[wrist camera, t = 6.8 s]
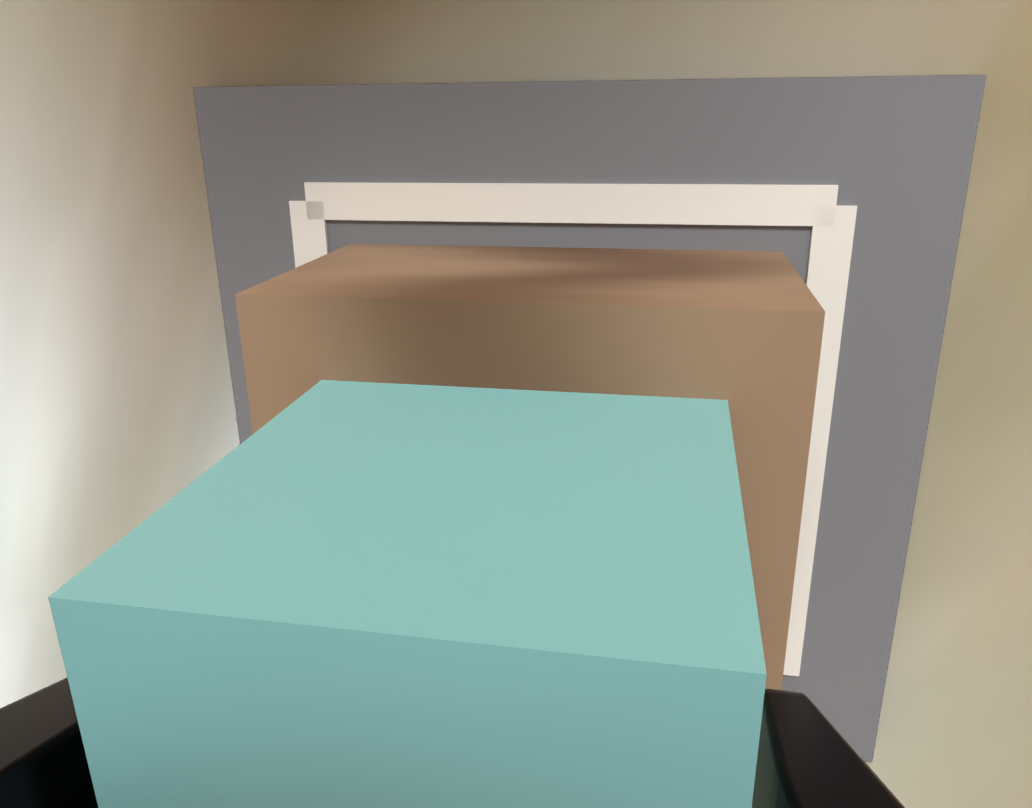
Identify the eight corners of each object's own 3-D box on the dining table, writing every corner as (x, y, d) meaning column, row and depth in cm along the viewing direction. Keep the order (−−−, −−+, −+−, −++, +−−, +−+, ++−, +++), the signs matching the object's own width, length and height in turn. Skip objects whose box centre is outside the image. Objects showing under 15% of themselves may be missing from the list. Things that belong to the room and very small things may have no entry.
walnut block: (781, 251, 13) (825, 311, 9) (745, 636, 15) (767, 807, 12) (350, 243, 14) (234, 294, 10) (378, 602, 16) (292, 747, 13)
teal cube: (728, 399, 10) (767, 675, 5) (699, 742, 12) (709, 1176, 7) (323, 378, 11) (48, 596, 6) (353, 700, 12) (158, 1060, 8)
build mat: (976, 75, 12) (987, 74, 12) (867, 747, 16) (872, 764, 16) (205, 87, 14) (191, 87, 14) (281, 680, 18) (271, 695, 18)
